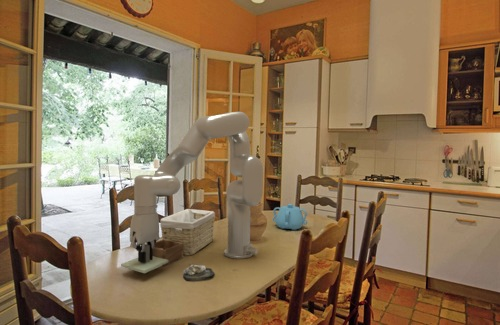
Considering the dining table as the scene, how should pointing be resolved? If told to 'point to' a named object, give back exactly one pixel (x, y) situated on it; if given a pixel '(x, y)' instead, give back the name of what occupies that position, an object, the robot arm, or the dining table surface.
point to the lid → (148, 264)
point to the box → (168, 250)
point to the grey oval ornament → (197, 273)
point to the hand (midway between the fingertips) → (145, 260)
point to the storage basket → (189, 229)
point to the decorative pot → (289, 217)
